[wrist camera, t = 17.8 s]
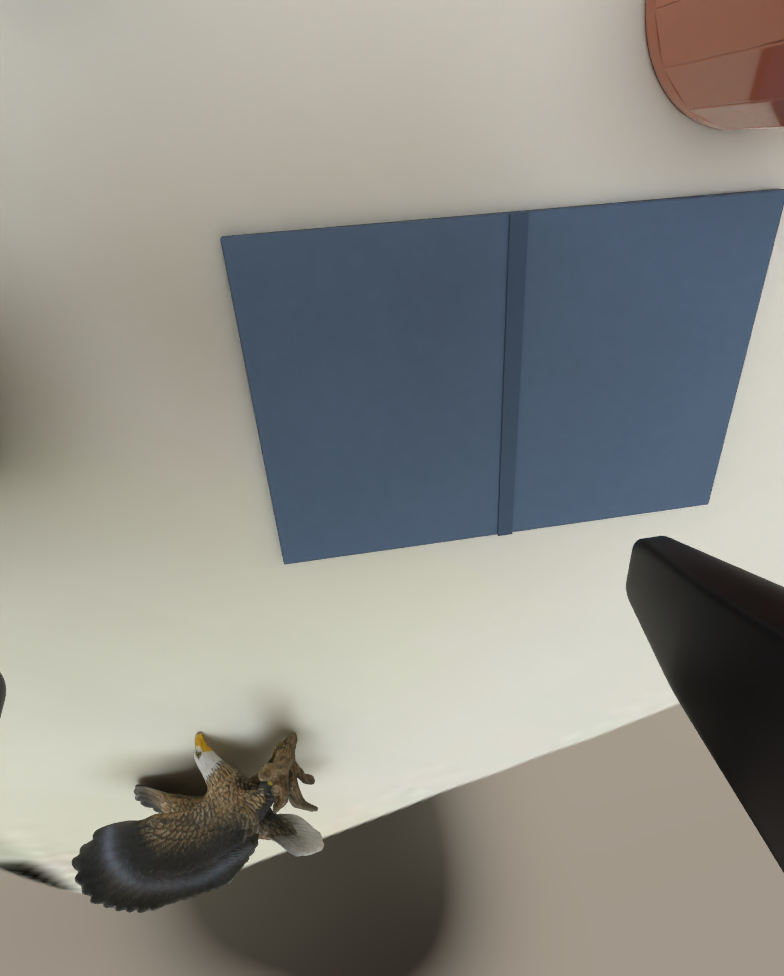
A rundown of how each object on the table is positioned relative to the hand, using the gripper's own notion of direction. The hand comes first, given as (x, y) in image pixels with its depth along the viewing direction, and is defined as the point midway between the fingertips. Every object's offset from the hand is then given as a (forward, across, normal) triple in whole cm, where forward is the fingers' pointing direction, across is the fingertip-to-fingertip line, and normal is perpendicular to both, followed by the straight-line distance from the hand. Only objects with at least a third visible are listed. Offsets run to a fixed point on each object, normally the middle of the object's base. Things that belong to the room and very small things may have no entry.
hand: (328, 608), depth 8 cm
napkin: (+13, -7, +2) cm, 15 cm away
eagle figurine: (+13, +7, +20) cm, 25 cm away
